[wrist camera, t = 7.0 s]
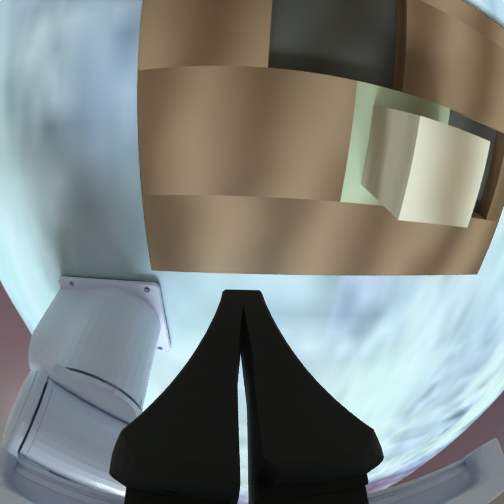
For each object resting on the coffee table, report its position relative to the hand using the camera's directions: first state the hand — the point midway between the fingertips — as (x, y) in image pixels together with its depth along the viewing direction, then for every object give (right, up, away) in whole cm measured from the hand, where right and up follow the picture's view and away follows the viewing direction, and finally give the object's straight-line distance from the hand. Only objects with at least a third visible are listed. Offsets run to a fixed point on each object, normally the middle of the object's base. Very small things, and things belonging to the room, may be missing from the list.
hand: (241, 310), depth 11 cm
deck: (+8, +11, +5) cm, 14 cm away
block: (+10, +8, +5) cm, 14 cm away
